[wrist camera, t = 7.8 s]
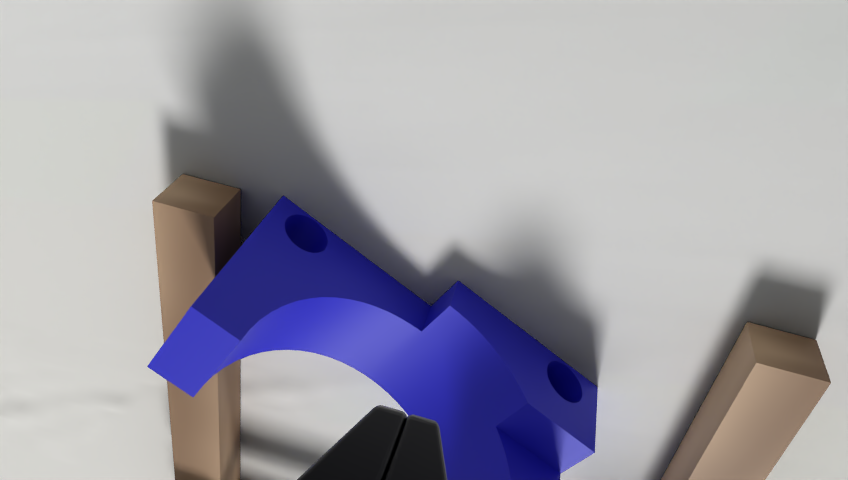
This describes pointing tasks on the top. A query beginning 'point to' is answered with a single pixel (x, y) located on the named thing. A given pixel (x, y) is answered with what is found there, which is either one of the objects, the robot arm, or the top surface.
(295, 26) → the top surface
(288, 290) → the cable clip
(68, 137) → the top surface
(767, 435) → the wooden rod frame
